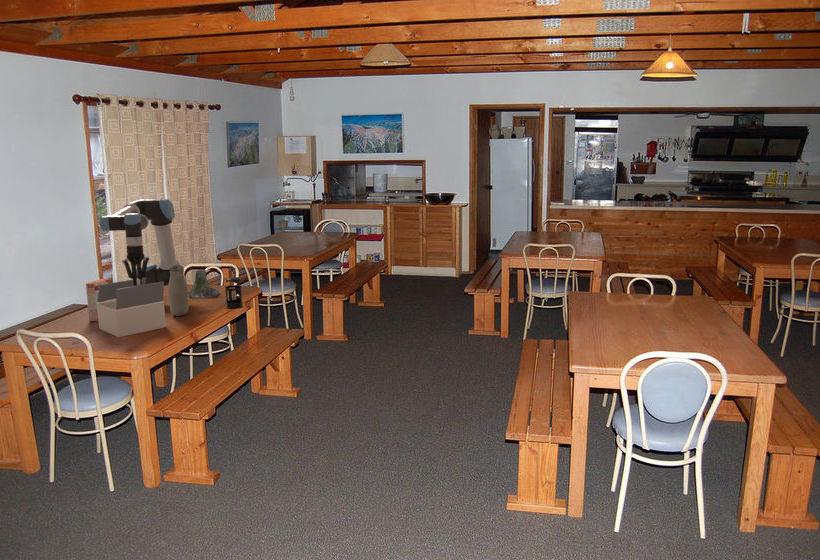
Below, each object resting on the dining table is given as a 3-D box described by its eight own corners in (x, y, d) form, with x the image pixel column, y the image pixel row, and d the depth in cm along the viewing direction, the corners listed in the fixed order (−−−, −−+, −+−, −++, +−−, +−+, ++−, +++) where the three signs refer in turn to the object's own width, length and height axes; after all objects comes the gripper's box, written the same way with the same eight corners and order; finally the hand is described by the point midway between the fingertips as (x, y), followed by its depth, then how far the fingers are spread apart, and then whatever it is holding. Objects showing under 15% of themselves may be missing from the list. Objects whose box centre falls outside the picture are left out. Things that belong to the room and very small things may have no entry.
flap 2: (163, 281, 351) (163, 281, 350) (162, 300, 355) (163, 300, 354) (116, 289, 334) (117, 289, 333) (116, 309, 338) (116, 309, 337)
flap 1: (100, 285, 347) (99, 284, 348) (97, 301, 353) (97, 301, 353) (145, 278, 364) (145, 277, 365) (142, 293, 370) (142, 293, 370)
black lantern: (238, 309, 392) (235, 270, 387) (222, 309, 393) (220, 269, 389) (246, 304, 403) (244, 266, 398) (231, 304, 405) (229, 265, 400)
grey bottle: (169, 318, 375) (164, 267, 369) (172, 313, 385) (168, 264, 379) (187, 317, 376) (183, 267, 371) (190, 312, 386) (186, 263, 380)
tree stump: (191, 300, 416) (186, 271, 416) (187, 301, 434) (182, 273, 434) (222, 295, 424) (217, 267, 424) (216, 297, 442) (212, 269, 442)
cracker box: (98, 322, 369) (94, 283, 364) (88, 321, 370) (84, 283, 366) (115, 315, 382) (111, 278, 378) (105, 314, 383) (101, 278, 379)
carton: (145, 319, 373) (143, 294, 371) (166, 326, 358) (163, 301, 355) (99, 328, 356) (96, 303, 353) (118, 337, 340) (115, 310, 337)
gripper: (124, 247, 332) (128, 294, 337) (150, 244, 341) (154, 290, 346) (118, 245, 337) (122, 292, 342) (144, 242, 347) (147, 288, 351)
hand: (138, 291), depth 344 cm, fingers closed
